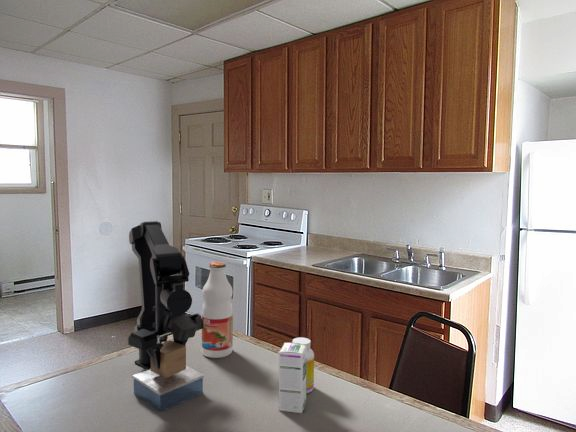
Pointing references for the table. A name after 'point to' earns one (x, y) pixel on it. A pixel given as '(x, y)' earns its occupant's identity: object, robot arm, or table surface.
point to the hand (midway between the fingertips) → (168, 364)
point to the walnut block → (171, 359)
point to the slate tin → (167, 387)
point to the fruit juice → (217, 313)
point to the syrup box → (292, 377)
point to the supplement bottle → (308, 363)
